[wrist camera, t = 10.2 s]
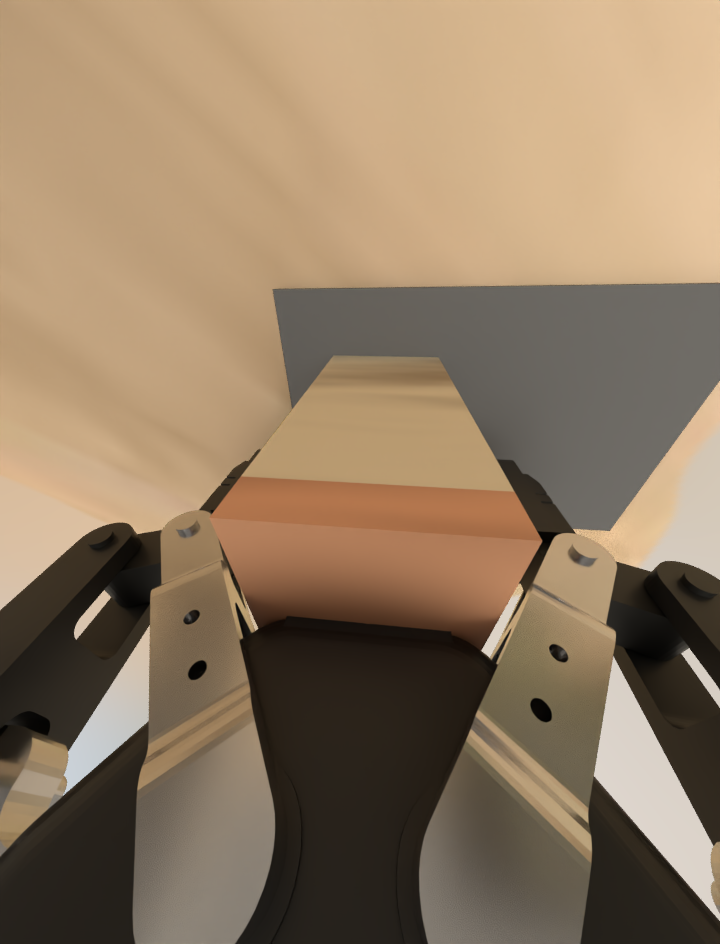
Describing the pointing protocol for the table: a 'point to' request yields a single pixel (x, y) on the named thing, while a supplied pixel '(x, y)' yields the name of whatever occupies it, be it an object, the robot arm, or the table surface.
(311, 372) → the mat
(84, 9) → the table surface
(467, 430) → the block
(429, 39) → the table surface
